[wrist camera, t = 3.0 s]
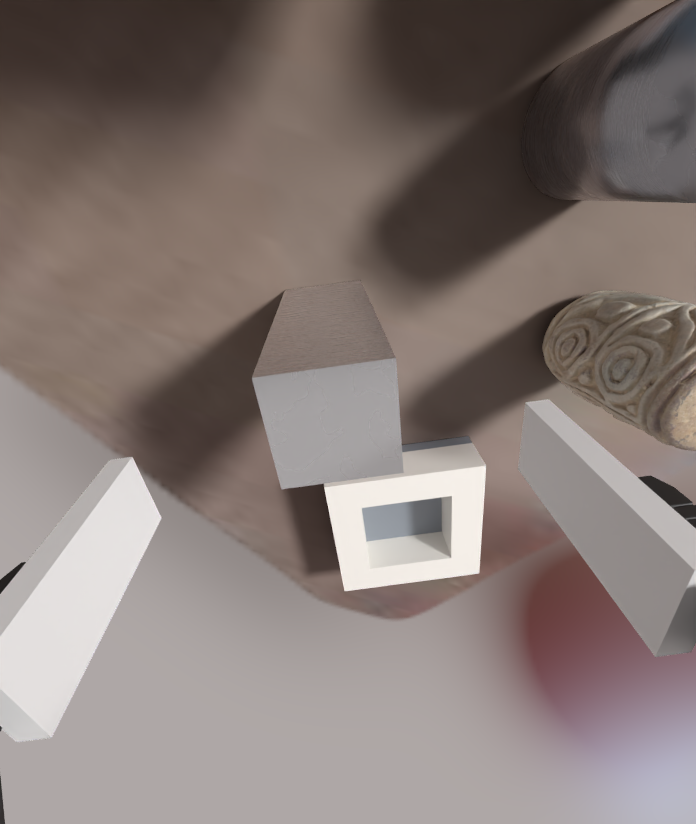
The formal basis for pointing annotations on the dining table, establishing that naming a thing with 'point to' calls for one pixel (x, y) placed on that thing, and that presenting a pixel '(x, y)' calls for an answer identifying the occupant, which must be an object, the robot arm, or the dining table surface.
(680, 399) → the carving
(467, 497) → the bore block
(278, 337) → the square peg
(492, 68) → the dining table surface
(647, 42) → the round bit
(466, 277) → the dining table surface
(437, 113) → the dining table surface
